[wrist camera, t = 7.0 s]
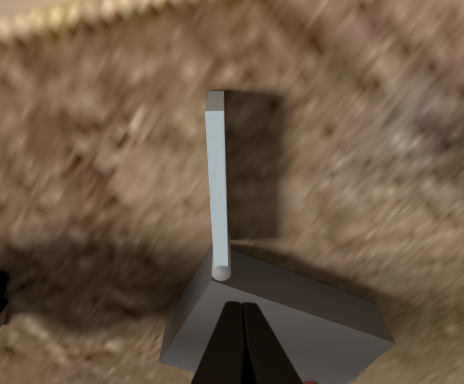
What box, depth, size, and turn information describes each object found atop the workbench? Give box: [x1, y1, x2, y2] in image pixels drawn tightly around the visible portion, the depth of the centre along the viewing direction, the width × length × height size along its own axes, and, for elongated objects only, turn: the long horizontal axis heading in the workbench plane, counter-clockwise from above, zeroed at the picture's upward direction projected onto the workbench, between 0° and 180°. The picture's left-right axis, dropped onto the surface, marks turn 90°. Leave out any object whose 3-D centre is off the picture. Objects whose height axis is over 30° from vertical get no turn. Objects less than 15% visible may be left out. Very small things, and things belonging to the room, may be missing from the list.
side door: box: [205, 91, 231, 281], centre depth 18 cm, size 10×1×4 cm, turn 1°
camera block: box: [159, 244, 395, 384], centre depth 25 cm, size 15×9×4 cm, turn 63°
